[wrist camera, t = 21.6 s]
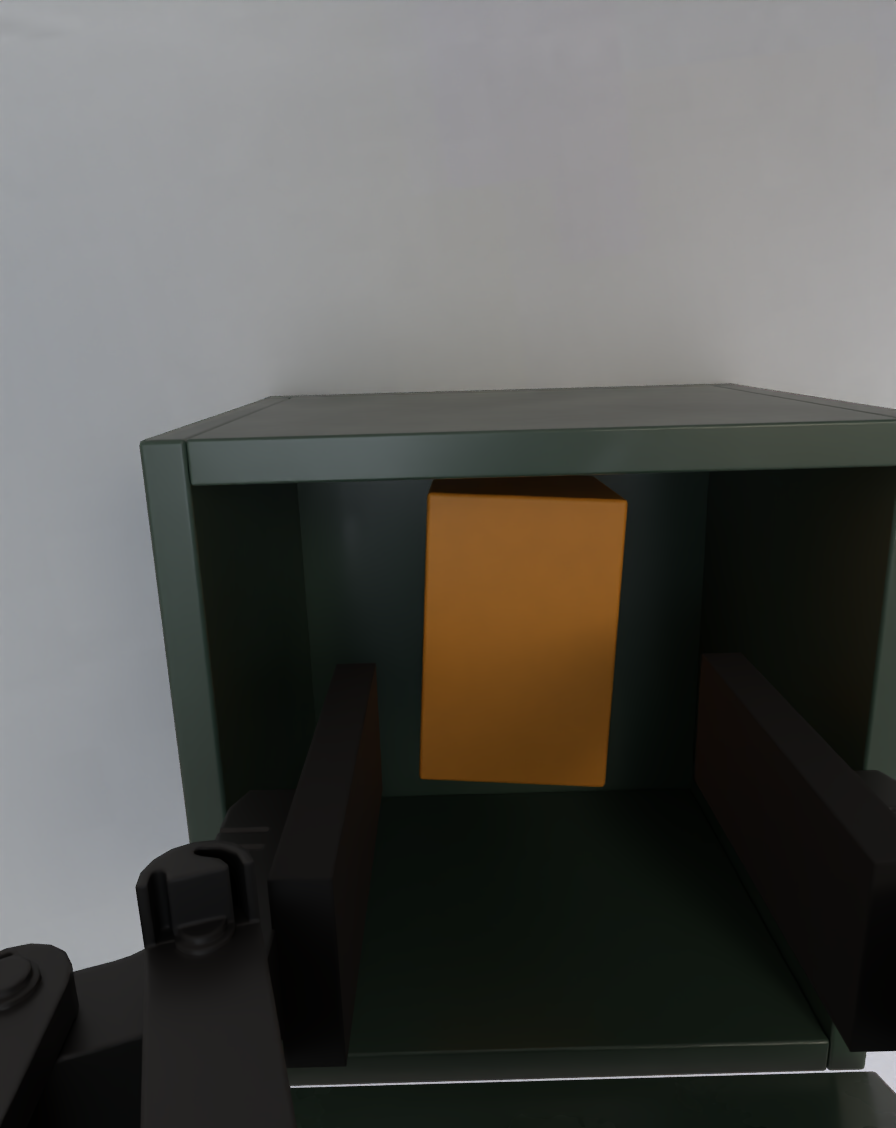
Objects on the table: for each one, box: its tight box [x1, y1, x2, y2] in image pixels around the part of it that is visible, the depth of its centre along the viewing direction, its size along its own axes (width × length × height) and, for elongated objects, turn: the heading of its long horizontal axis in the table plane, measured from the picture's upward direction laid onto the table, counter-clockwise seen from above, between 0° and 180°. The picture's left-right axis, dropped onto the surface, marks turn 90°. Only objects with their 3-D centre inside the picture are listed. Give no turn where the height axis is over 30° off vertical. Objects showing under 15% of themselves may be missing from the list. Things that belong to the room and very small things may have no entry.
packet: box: [419, 475, 628, 787], centre depth 21 cm, size 7×4×5 cm, turn 178°
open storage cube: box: [140, 383, 896, 1086], centre depth 21 cm, size 14×14×11 cm
